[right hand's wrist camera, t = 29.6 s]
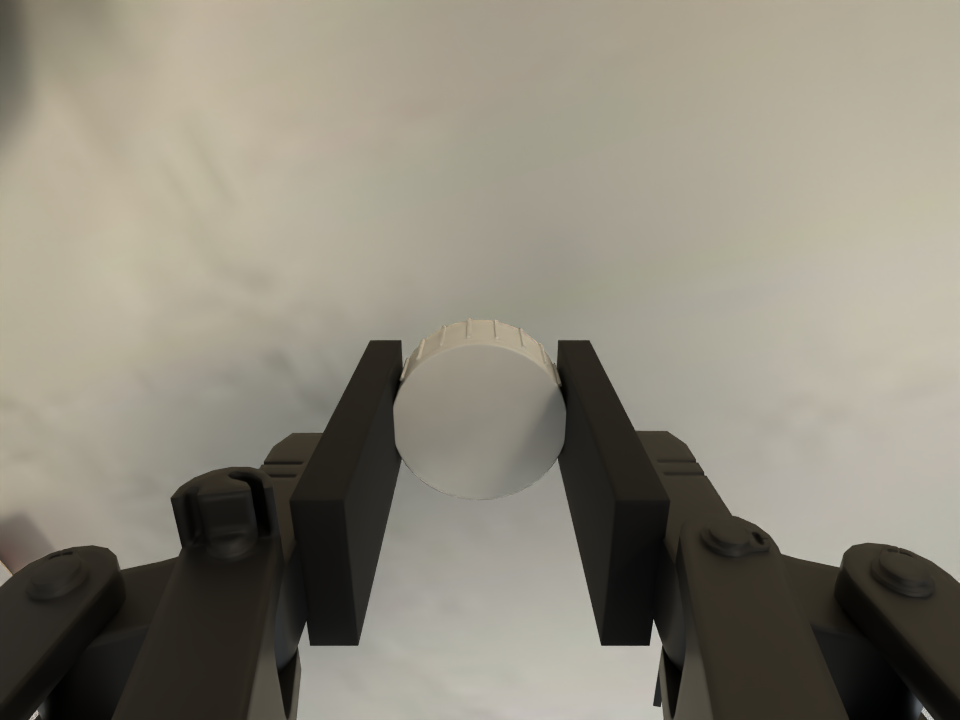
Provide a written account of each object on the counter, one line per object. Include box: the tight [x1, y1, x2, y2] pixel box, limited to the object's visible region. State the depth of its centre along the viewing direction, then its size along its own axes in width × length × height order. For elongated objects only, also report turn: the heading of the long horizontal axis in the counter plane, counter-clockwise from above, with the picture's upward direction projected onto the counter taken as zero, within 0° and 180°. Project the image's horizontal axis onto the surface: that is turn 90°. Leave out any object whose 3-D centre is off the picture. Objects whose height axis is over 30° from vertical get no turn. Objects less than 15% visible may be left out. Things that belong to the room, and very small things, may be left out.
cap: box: [393, 319, 566, 500], centre depth 14 cm, size 4×4×2 cm
